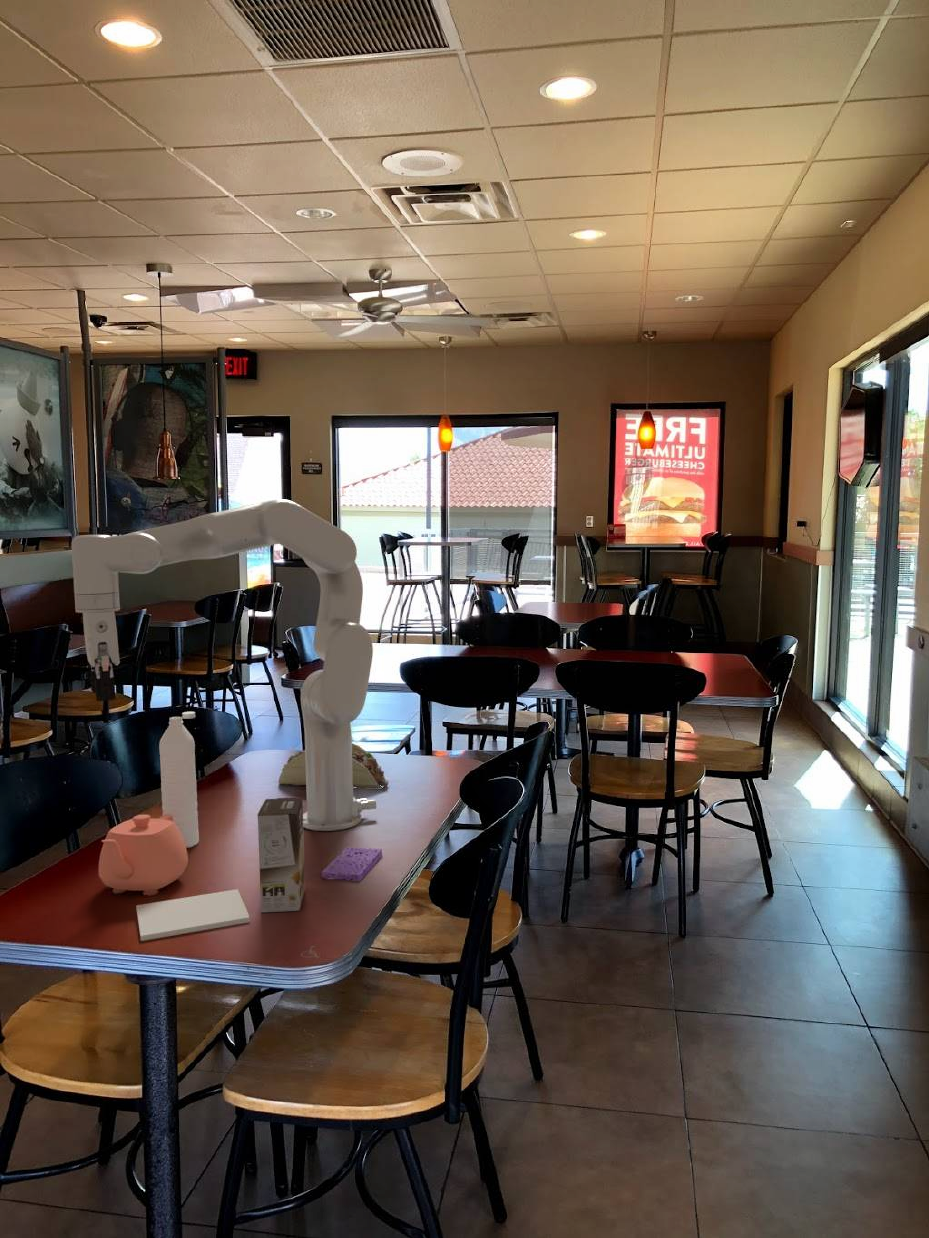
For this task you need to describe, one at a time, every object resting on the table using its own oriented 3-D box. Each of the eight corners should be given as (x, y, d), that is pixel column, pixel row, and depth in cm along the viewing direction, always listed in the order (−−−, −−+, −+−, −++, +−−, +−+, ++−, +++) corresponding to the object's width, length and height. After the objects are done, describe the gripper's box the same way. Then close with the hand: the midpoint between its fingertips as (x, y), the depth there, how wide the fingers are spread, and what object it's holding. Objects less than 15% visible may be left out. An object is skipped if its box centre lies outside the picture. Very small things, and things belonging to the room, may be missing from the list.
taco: (287, 778, 225) (285, 737, 224) (393, 783, 219) (392, 741, 218) (271, 789, 215) (269, 747, 214) (382, 795, 210) (381, 751, 209)
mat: (237, 893, 154) (237, 889, 154) (249, 922, 143) (249, 917, 143) (136, 910, 148) (136, 905, 148) (140, 941, 137) (140, 935, 137)
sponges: (382, 858, 171) (382, 848, 171) (360, 884, 159) (359, 873, 159) (346, 855, 172) (346, 846, 172) (321, 881, 160) (321, 871, 160)
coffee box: (301, 911, 147) (297, 813, 145) (260, 913, 146) (256, 815, 144) (306, 888, 156) (303, 796, 154) (267, 890, 155) (264, 797, 154)
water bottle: (186, 851, 174) (180, 721, 172) (156, 848, 176) (150, 719, 174) (212, 836, 183) (206, 712, 180) (183, 833, 185) (178, 710, 182)
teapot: (71, 907, 150) (66, 834, 148) (140, 862, 169) (137, 798, 168) (144, 914, 147) (140, 840, 145) (206, 868, 166) (204, 802, 165)
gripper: (125, 605, 161) (130, 701, 163) (114, 598, 177) (119, 686, 179) (78, 607, 158) (85, 706, 160) (71, 600, 173) (77, 690, 175)
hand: (103, 695), depth 169 cm, fingers open, 9 cm apart
